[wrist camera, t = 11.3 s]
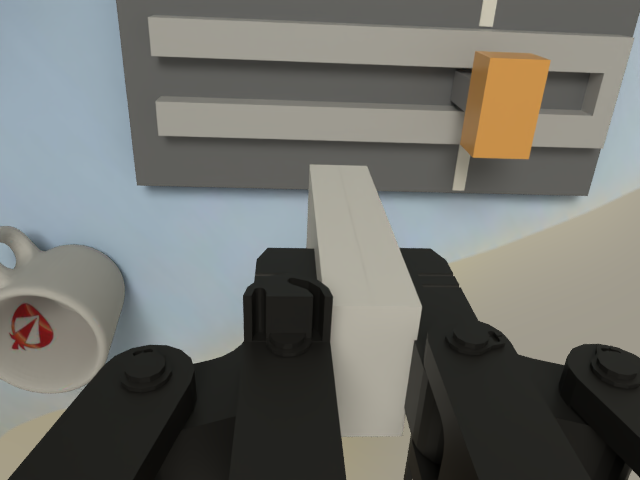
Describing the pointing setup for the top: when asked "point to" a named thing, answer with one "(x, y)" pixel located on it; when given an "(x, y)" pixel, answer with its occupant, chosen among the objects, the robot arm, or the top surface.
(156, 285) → the top surface
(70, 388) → the cup
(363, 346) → the robot arm
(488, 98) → the fader knob
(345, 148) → the fader console
